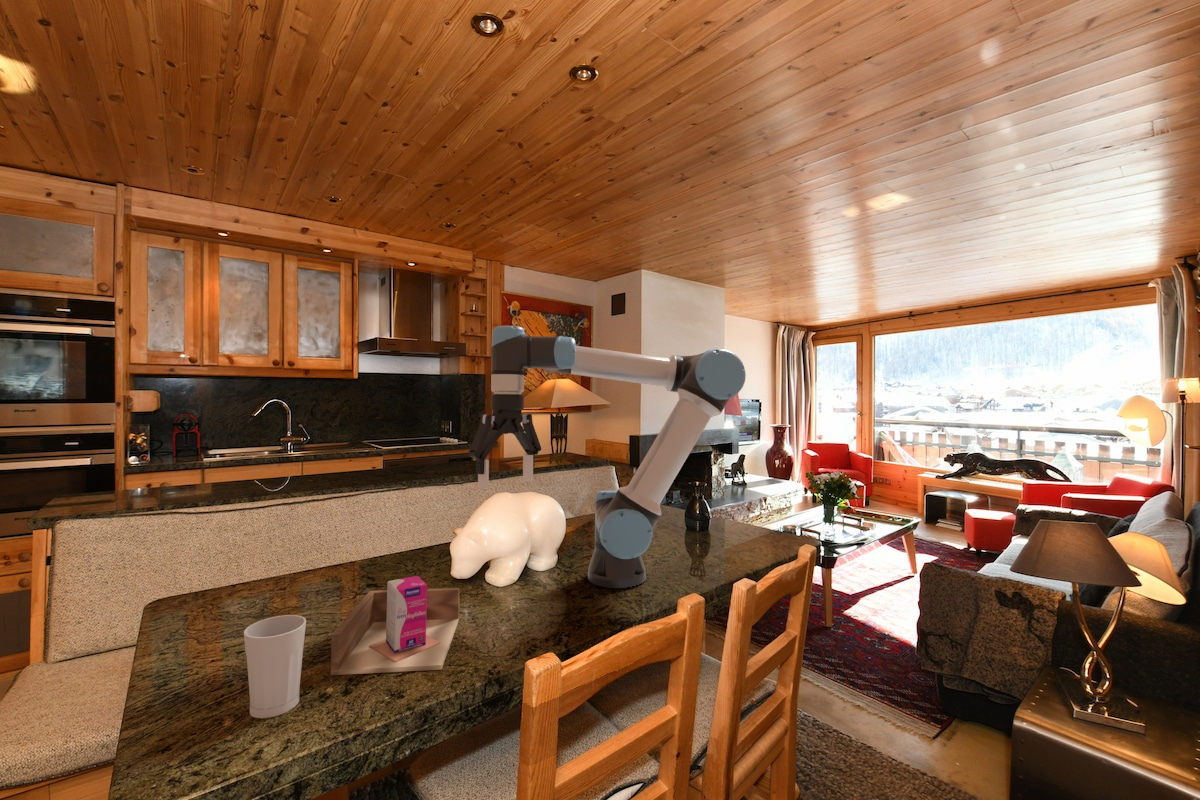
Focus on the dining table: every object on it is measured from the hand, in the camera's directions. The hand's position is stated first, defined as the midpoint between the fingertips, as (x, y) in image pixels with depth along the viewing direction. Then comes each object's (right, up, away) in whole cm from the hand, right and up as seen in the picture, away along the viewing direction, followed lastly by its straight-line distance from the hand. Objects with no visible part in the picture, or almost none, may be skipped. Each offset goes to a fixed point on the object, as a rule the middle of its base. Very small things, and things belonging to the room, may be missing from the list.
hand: (506, 485), depth 119 cm
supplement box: (-14, -26, -24) cm, 38 cm away
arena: (-16, -27, -22) cm, 38 cm away
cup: (-27, -27, -42) cm, 56 cm away
